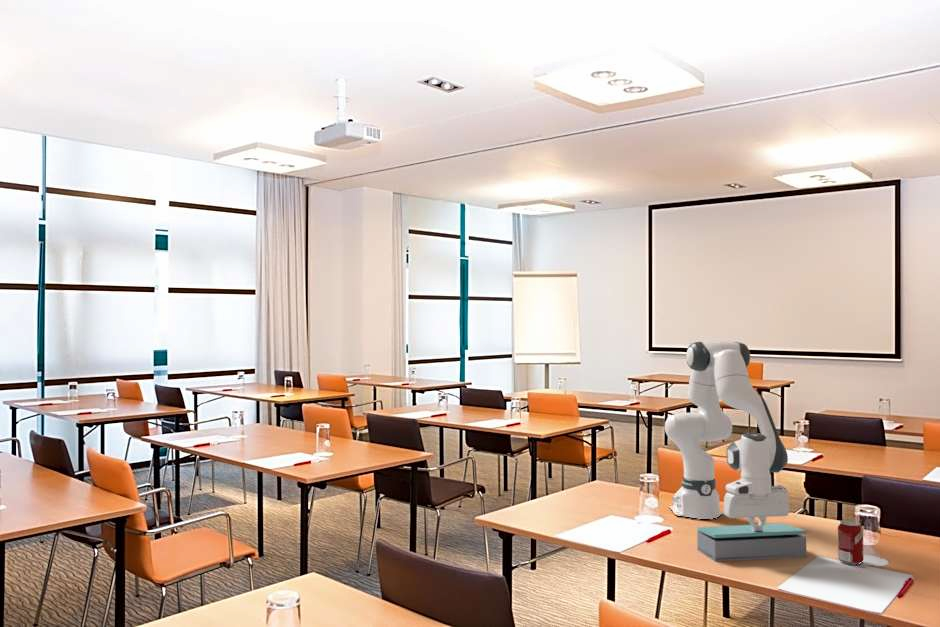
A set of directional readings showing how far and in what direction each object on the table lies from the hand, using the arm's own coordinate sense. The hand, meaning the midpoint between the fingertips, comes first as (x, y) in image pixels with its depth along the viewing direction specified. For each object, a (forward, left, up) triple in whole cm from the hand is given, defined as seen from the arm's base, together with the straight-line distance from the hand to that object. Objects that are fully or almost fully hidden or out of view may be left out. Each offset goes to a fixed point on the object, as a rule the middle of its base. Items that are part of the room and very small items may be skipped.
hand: (757, 531), depth 228 cm
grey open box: (-4, 0, -8) cm, 9 cm away
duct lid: (-4, 0, -1) cm, 4 cm away
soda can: (+9, +25, -8) cm, 28 cm away
